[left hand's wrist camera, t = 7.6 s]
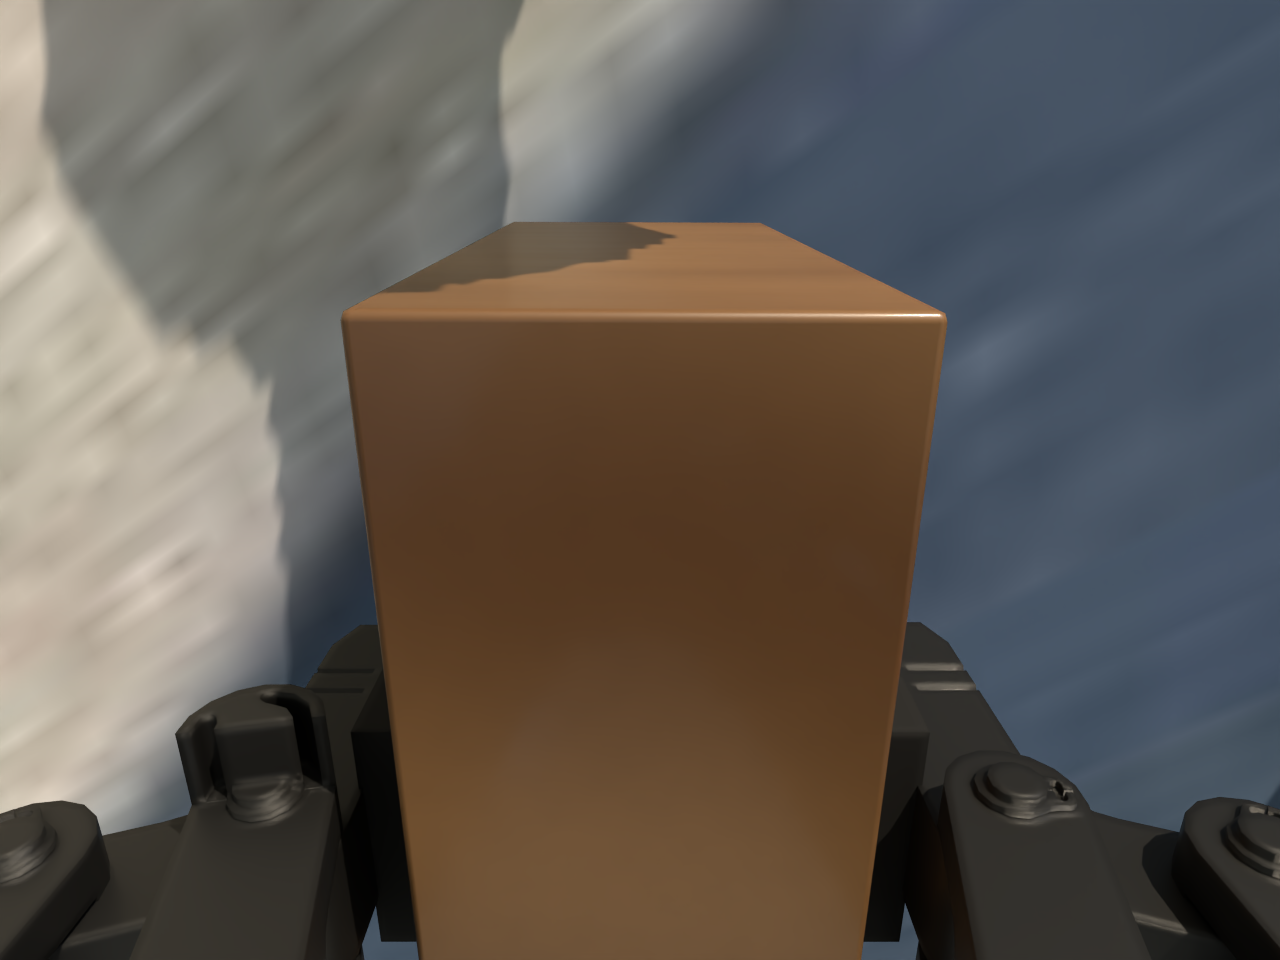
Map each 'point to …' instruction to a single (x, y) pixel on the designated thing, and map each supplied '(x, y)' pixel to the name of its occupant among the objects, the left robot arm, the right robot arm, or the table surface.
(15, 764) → the table surface
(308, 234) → the table surface
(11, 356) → the table surface
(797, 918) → the bar
